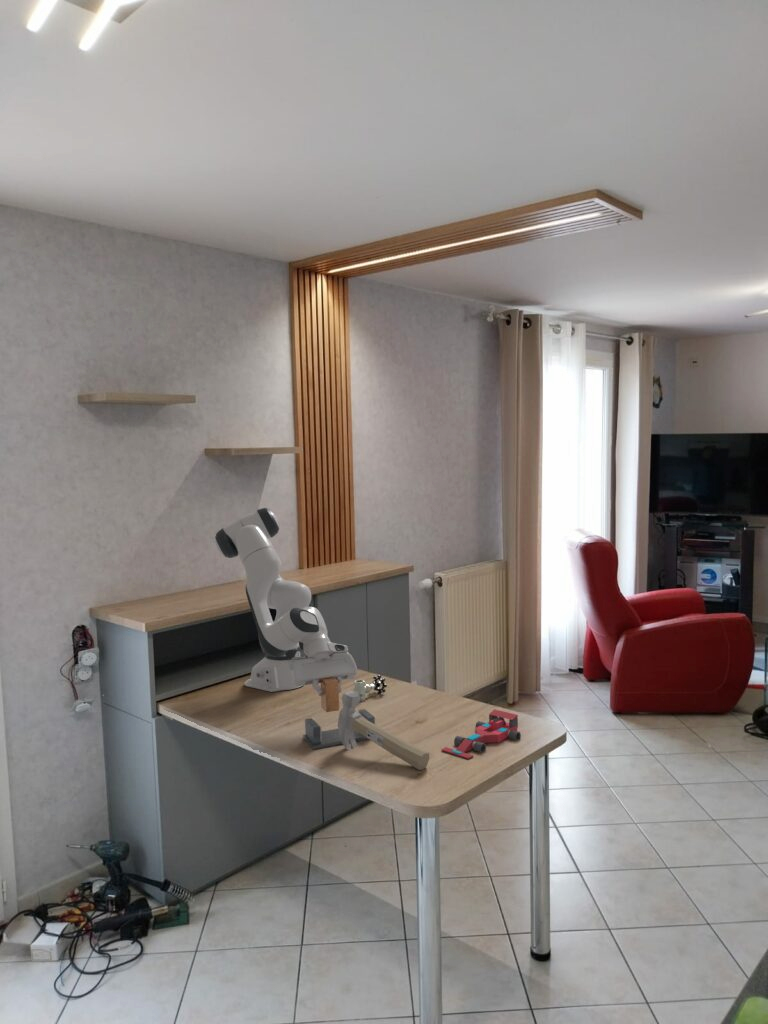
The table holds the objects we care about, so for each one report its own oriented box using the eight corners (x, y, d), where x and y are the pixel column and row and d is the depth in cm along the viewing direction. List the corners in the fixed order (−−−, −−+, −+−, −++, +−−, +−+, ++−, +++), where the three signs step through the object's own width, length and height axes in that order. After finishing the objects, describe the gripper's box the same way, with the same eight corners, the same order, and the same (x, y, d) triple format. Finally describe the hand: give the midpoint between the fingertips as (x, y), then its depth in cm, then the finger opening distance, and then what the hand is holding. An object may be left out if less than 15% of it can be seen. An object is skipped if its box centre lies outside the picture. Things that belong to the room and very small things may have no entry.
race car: (434, 730, 216) (486, 707, 234) (434, 750, 216) (486, 726, 234) (474, 742, 206) (526, 717, 224) (475, 763, 206) (526, 737, 224)
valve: (362, 703, 258) (387, 695, 267) (361, 684, 258) (386, 676, 266) (349, 699, 263) (374, 691, 271) (348, 680, 263) (373, 673, 271)
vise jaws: (303, 738, 228) (302, 718, 227) (365, 726, 235) (365, 707, 235) (313, 749, 219) (312, 729, 218) (378, 737, 226) (377, 717, 226)
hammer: (434, 732, 202) (351, 688, 220) (423, 738, 198) (340, 692, 217) (425, 785, 205) (344, 738, 224) (414, 792, 202) (333, 742, 220)
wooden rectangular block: (321, 707, 234) (320, 678, 233) (333, 705, 235) (332, 676, 235) (326, 712, 229) (325, 682, 228) (339, 710, 231) (338, 680, 230)
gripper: (288, 652, 233) (298, 692, 225) (351, 645, 241) (363, 683, 233) (285, 663, 238) (295, 703, 229) (347, 655, 246) (359, 694, 237)
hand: (330, 693), depth 231 cm, fingers closed on wooden rectangular block, 4 cm apart
